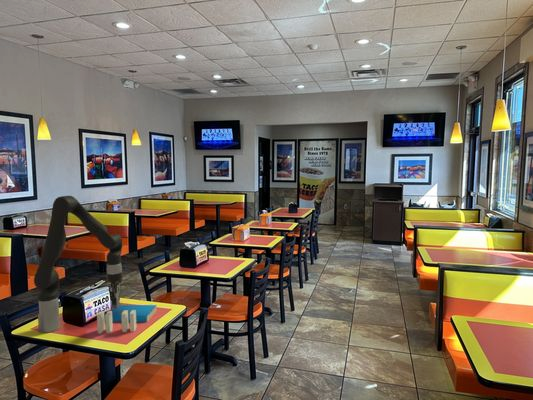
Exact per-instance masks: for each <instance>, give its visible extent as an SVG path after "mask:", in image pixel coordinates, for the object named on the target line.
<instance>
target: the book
mask: <svg viewBox="0 0 533 400" xmlns="http://www.w3.org/2000/svg"><path fill="white" fill-rule="evenodd" d="M124 310H128V323H130V312H131V311H132V310H136V323H137V322H138V323H140V322H141V323H142V322H143V323H144V322H145V323H146V322H149V320H150V319H151V318H152V317H153V316H154V315H155V313H156V312H157V310H158V309H157V304H120V305H119V307H118V308H116V309H113V308H111V309H110V310H109V311H112V321H113V322H115V323H116V322H121V323H122V316H121V314H122V313H123V311H124ZM104 320H105V314H104Z"/></svg>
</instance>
